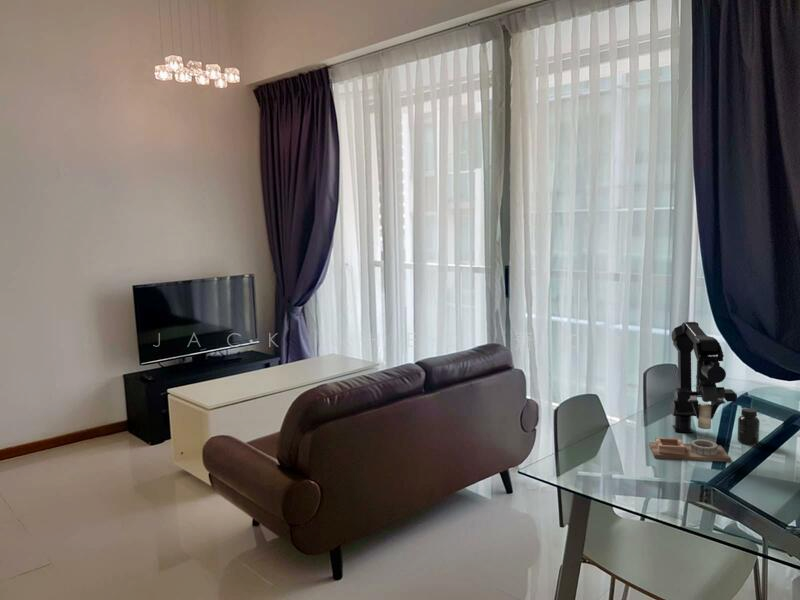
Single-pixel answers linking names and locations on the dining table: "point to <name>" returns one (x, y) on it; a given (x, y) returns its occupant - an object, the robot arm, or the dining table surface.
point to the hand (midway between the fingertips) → (704, 418)
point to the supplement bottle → (748, 427)
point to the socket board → (688, 450)
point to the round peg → (704, 416)
